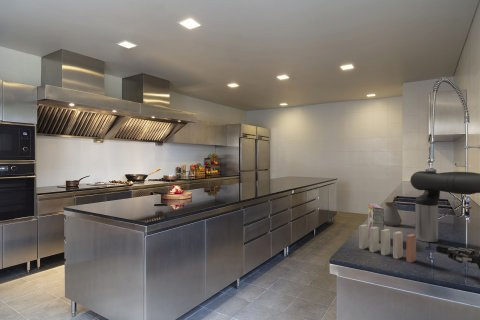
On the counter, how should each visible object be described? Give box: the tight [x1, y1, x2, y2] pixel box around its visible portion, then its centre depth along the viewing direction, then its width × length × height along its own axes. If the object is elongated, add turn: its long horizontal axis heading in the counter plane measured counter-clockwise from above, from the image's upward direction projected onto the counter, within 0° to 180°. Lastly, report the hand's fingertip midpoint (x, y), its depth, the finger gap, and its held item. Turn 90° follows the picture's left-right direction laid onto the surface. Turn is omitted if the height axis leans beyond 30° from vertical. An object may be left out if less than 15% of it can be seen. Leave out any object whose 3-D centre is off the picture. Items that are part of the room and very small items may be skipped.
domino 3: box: [380, 228, 391, 256], centre depth 121 cm, size 4×2×10 cm, turn 125°
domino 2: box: [369, 227, 380, 253], centre depth 125 cm, size 4×2×10 cm, turn 125°
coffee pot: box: [383, 196, 403, 227], centre depth 176 cm, size 21×12×15 cm, turn 143°
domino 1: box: [358, 223, 369, 250], centre depth 129 cm, size 4×2×10 cm, turn 125°
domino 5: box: [405, 233, 417, 263], centre depth 113 cm, size 4×2×10 cm, turn 125°
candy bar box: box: [367, 203, 385, 243], centre depth 143 cm, size 11×5×16 cm, turn 168°
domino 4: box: [392, 230, 404, 260], centre depth 117 cm, size 4×2×10 cm, turn 125°
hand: (437, 248), depth 105 cm, fingers closed
